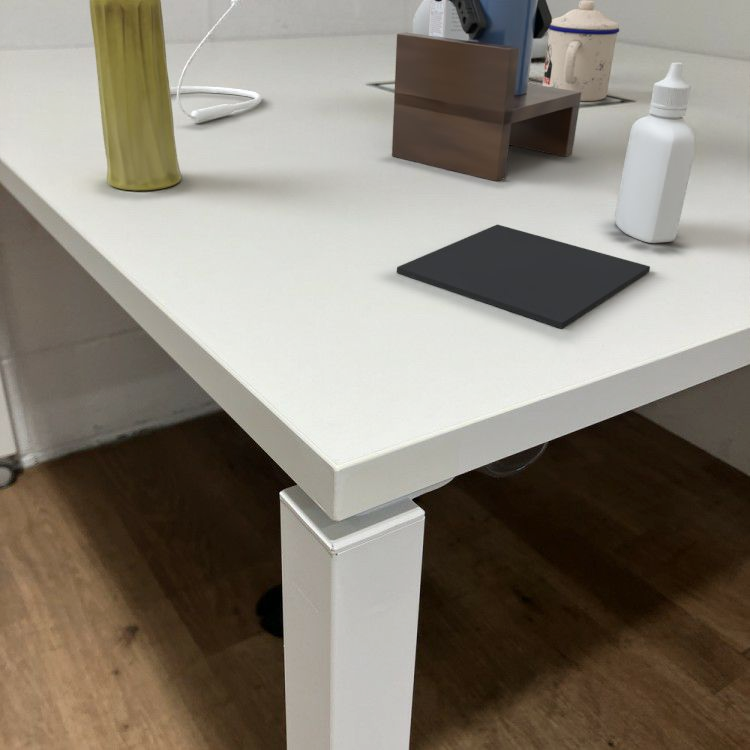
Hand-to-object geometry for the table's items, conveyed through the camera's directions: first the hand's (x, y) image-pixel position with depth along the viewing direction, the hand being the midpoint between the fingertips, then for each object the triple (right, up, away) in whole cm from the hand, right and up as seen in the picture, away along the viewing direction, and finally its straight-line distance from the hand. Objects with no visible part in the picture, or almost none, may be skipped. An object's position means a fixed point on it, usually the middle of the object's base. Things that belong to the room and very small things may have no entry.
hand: (511, 33), depth 74 cm
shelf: (-2, -9, +6) cm, 11 cm away
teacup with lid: (+14, +6, +35) cm, 38 cm away
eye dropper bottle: (+8, -21, -13) cm, 25 cm away
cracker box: (+2, +12, +44) cm, 46 cm away
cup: (-1, -4, +4) cm, 6 cm away
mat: (-3, -24, -21) cm, 32 cm away
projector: (+6, +24, +68) cm, 72 cm away
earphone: (-34, 0, +21) cm, 40 cm away
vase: (-32, -15, -5) cm, 36 cm away
